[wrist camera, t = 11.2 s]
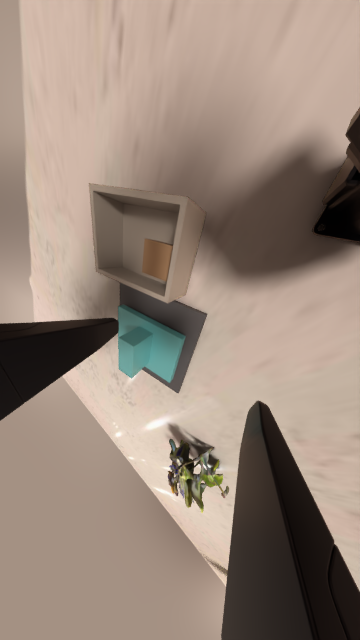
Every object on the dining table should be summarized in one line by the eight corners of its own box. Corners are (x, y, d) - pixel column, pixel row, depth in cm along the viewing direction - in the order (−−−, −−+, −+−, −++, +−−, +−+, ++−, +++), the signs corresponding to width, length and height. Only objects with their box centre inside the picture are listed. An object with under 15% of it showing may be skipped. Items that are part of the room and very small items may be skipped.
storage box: (206, 212, 16) (187, 196, 12) (185, 294, 21) (167, 303, 17) (123, 198, 20) (88, 183, 16) (122, 269, 25) (96, 271, 21)
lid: (187, 333, 22) (166, 356, 17) (175, 375, 27) (155, 402, 22) (126, 303, 27) (94, 313, 21) (125, 344, 32) (99, 360, 27)
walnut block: (184, 248, 18) (172, 246, 15) (178, 278, 20) (166, 281, 17) (159, 241, 19) (144, 238, 17) (155, 270, 21) (141, 272, 19)
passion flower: (196, 424, 40) (157, 440, 33) (223, 426, 32) (179, 449, 26) (208, 478, 35) (165, 510, 28) (244, 497, 27) (196, 547, 21)
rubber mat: (207, 314, 20) (205, 315, 20) (179, 391, 30) (178, 393, 29) (122, 278, 26) (119, 278, 25) (121, 352, 35) (119, 354, 34)
